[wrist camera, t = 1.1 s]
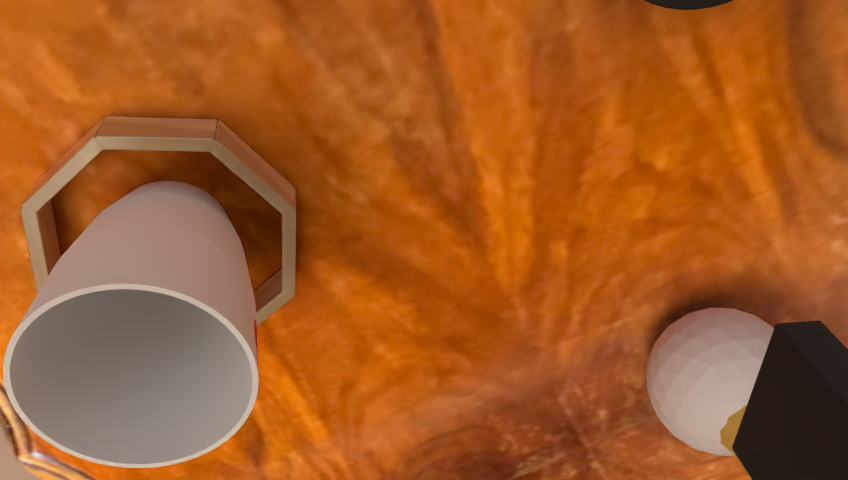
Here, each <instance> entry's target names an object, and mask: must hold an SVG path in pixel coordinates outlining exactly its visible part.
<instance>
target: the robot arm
mask: <svg viewBox="0 0 848 480" xmlns="http://www.w3.org/2000/svg"><path fill="white" fill-rule="evenodd" d="M732 449H733V451H734V452H735V454H736V455H737V457H738V459H739V460H740V462H741V463H742V465H743V466H744V468H745V469H746V471H747V472H748V474H749V476H750V477H751V479H752V480H848V349H847V348H846V347H845V346H844V345H843V344H842V343H841V342H840V341H839V340H838V339H837V338H836V337H835V336H834V335H833V334H832V333H831V331H830V330H829V329H828V328H827V327H826V326H825V325H824V324H823V323H822V322H821V321H809V322H794V323H780V324H776V325H775V328H774V330H773V333H772V336H771V339H770V342H769V344H768V347H767V350H766V353H765V356H764V359H763V361H762V364H761V367H760V370H759V373H758V375H757V378H756V381H755V384H754V387H753V389H752V392H751V395H750V398H749V401H748V404H747V406H746V409H745V412H744V415H743V418H742V420H741V423H740V426H739V429H738V432H737V435H736V437H735V440H734V443H733V446H732Z"/></svg>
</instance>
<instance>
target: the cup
mask: <svg viewBox="0 0 848 480" xmlns="http://www.w3.org/2000/svg"><path fill="white" fill-rule="evenodd" d="M3 378H4V384H5V388H6V392H7V395H8V397H9V400H10V402H11V404H12V405H13V407H14V409H15V410H16V412H17V413H18V415H19V416H20V417H21V419H22V420H23V421H24V422H25V423H26V424H27V425H28V426H29V427H30V428H31V429H32V430H33V431H34V432H35V433H36V434H37V435H39V436H40V437H41V438H43V439H44V440H45V441H47V442H48V443H50V444H52V445H53V446H55V447H57V448H59V449H60V450H62V451H64V452H67V453H69V454H71V455H74V456H76V457H79V458H82V459H85V460H88V461H91V462H95V463H99V464H104V465H110V466H116V467H127V468H149V467H160V466H167V465H172V464H177V463H181V462H184V461H187V460H191V459H193V458H196V457H199V456H201V455H203V454H205V453H207V452H209V451H211V450H213V449H215V448H216V447H218V446H220V445H221V444H223V443H224V442H225V441H227V440H228V439H229V438H230V437H231V436H233V435H234V434H235V433H236V432H237V431H238V430H239V429H240V427H241V426H242V425H243V424H244V422H245V421H246V419H247V418H248V416H249V415H250V413H251V411H252V408H253V406H254V403H255V400H256V397H257V392H258V356H257V329H256V305H255V298H254V293H253V289H252V284H251V280H250V275H249V271H248V266H247V261H246V257H245V252H244V248H243V245H242V243H241V240H240V238H239V236H238V234H237V232H236V231H235V229H234V227H233V225H232V223H231V221H230V219H229V218H228V216H227V214H226V212H225V210H224V209H223V207H222V206H221V205H220V203H219V202H218V201H217V200H216V199H215V198H214V197H212V196H211V195H210V194H209V193H207V192H205V191H204V190H202V189H200V188H198V187H196V186H193V185H191V184H187V183H183V182H178V181H157V182H152V183H148V184H145V185H143V186H140V187H138V188H136V189H135V190H133V191H131V192H130V193H128V194H127V195H125V196H124V197H122V198H121V199H119V200H118V201H116V202H115V203H113V204H111V205H110V206H108V207H107V208H106V209H104V210H103V211H102V212H101V213H100V214H99V215H98V216H97V217H96V218H95V219H94V220H93V221H92V222H91V223H90V225H89V226H88V227H87V228H86V229H85V230H84V231H83V232H82V234H81V235H80V236H79V237H78V238H77V239H76V240H75V242H74V243H73V244H72V245H71V246H70V247H69V248H68V250H67V251H66V252H65V253H64V254H63V255H62V256H61V258H60V259H59V260H58V261H57V263H56V264H55V266H54V268H53V269H52V271H51V273H50V274H49V276H48V278H47V279H46V281H45V283H44V284H43V286H42V288H41V289H40V291H39V293H38V294H37V296H36V298H35V299H34V301H33V303H32V304H31V306H30V308H29V309H28V311H27V313H26V314H25V316H24V318H23V319H22V321H21V323H20V324H19V326H18V328H17V329H16V331H15V333H14V334H13V336H12V338H11V340H10V342H9V344H8V346H7V349H6V352H5V356H4V362H3Z"/></svg>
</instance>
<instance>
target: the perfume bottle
mask: <svg viewBox="0 0 848 480" xmlns="http://www.w3.org/2000/svg"><path fill="white" fill-rule="evenodd" d="M773 330H774V328H773V327H772V326H771V325H769V324H768V323H766V322H765V321H763V320H762V319H760V318H758V317H757V316H755V315H752V314H749V313H746V312H743V311H740V310H737V309H734V308H707V309H703V310H699V311H695V312H691V313H688V314H686V315H685V316H683V317H682V318H680V319H678V320H677V321H675V322H673V323H672V324H670V325H669V326H668V327H667V328H666V329H665V331H664V332H663V333H662V334H661V335H660V336H659V338H658V339H657V340H656V341H655V343H654V346H653V348H652V351H651V353H650V356H649V358H648V360H647V372H646V384H647V389H648V394H649V398H650V401H651V403H652V406H653V408H654V410H655V412H656V414H657V416H658V418H659V419H660V420H661V422H662V423H663V424H664V425H665V426H666V427H667V429H668V430H669V431H670V432H671V433H672V434H673V436H675V437H676V438H678V439H680V440H681V441H683V442H684V443H686V444H688V445H689V446H691V447H692V448H694V449H697V450H700V451H704V452H708V453H711V454H715V455H727V456H733V455H736V454H735V452H734V451H733V449H732V446H733V443H734V440H735V437H736V435H737V432H738V429H739V426H740V423H741V420H742V418H743V415H744V412H745V409H746V406H747V404H748V401H749V398H750V395H751V392H752V389H753V387H754V384H755V381H756V378H757V375H758V373H759V370H760V367H761V364H762V361H763V359H764V356H765V353H766V350H767V347H768V344H769V342H770V339H771V336H772V333H773ZM736 457H737V455H736ZM737 459H738V457H737ZM738 460H739V459H738ZM739 462H740V460H739ZM740 463H741V462H740ZM741 465H742V463H741ZM742 466H743V465H742ZM743 468H744V466H743ZM744 469H745V468H744ZM745 471H746V469H745ZM746 473H747V474H748V472H747V471H746ZM748 476H749V474H748ZM749 477H750V476H749ZM750 478H751V477H750Z"/></svg>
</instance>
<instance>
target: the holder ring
mask: <svg viewBox="0 0 848 480" xmlns="http://www.w3.org/2000/svg"><path fill="white" fill-rule="evenodd" d="M102 150H149V151H195V152H210V153H211V154H212V155H213V156H215V157H216V158H217V159H218V160H219V161H220V162H222V163H223V164H224V165H225V166H226V167H227V168H229V169H230V170H231V171H232V172H233V173H234V174H236V175H237V176H238V177H239V178H240V179H241V180H243V181H244V182H245V183H246V184H247V185H248V186H249V187H251V188H252V189H253V190H254V191H255V192H256V193H258V194H259V195H260V196H261V197H262V198H263V199H265V200H266V201H267V202H268V203H269V204H270V205H272V206H273V207H274V208H275V209H276V210H277V211H279V212H280V213H281V214H282V268H281V269H280V270H279V271H278V272H277V273H275V274H274V275H273V276H272V277H270V278H269V279H268V280H267V281H266V282H264V283H263V284H262V285H261V286H260V287H258V288H257V289H256V290H255V291H253V293H254V298H255V305H256V327H257V326H258V325H259V324H261V323H262V322H263V321H264V320H266V319H267V318H268V317H269V316H271V315H272V314H273V313H274V312H276V311H277V310H278V309H279V308H281V307H282V306H283V305H284V304H286V303H287V302H288V301H289V300H290V299H292V298H293V297H294V295H295V278H296V189H295V187H294V186H293V185H292V184H291V183H290V182H288V181H287V180H286V179H285V178H284V177H283V176H282V175H281V174H280V173H278V172H277V171H276V170H275V169H274V168H273V167H272V166H271V165H269V164H268V163H267V162H266V161H265V160H264V159H263V158H262V157H261V156H259V155H258V154H257V153H256V152H255V151H254V150H253V149H252V148H250V147H249V146H248V145H247V144H246V143H245V142H244V141H243V140H242V139H240V138H239V137H238V136H237V135H236V134H235V133H234V132H233V131H231V130H230V129H229V128H228V127H227V126H226V125H225V124H224V123H223V122H221V121H220V120H219V121H218V120H217V119H190V118H155V117H121V116H106V117H102V118H101V119H100V120H99V121H98V122H97V123H96V124H95V125H94V126H93V127H92V128H91V129H90V130H89V131H88V132H87V133H86V134H85V135H84V136H83V137H82V138H81V139H80V140H79V141H78V142H77V143H75V144H74V145H73V146H72V147H71V148H70V149H69V150H68V151H67V152H66V153H65V154H64V155H63V156H62V157H61V158H60V159H59V160H58V161H57V162H56V163H55V164H54V165H53V166H52V167H51V168H50V169H48V170H47V171H46V172H45V173H44V174H43V175H42V176H41V177H40V178H39V179H38V180H37V181H36V182H35V183H34V185H33V186H32V188H31V190H30V191H29V193H28V195H27V196H26V198H25V200H24V202H23V203H22V205H21V208H20V210H21V215H22V220H23V225H24V230H25V235H26V240H27V245H28V250H29V255H30V260H31V265H32V269H33V274H34V279H35V284H36V289H37V294H38V293H39V291H40V289H41V288H42V286H43V284H44V283H45V281H46V279H47V278H48V276H49V274H50V273H51V271H52V269H53V268H54V266H55V264H56V263H57V261H58V260H59V259H60V258H61V253H60V248H59V242H58V236H57V231H56V225H55V219H54V214H53V208H52V202H51V199H52V198H53V197H54V196H55V195H56V194H57V193H58V192H59V191H60V190H61V189H62V188H63V187H64V186H65V185H66V184H67V183H68V182H69V181H71V180H72V179H73V178H74V177H75V176H76V175H77V174H78V173H79V172H80V171H81V170H82V169H83V168H84V167H85V166H86V165H87V164H88V163H90V162H91V161H92V160H93V159H94V158H95V157H96V156H97V155H98V154H99V153H100V152H101V151H102Z"/></svg>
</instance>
